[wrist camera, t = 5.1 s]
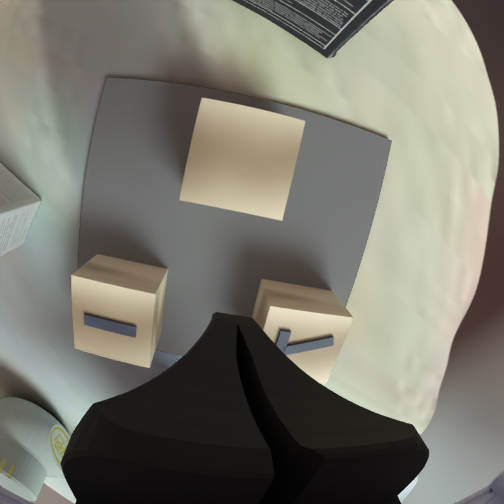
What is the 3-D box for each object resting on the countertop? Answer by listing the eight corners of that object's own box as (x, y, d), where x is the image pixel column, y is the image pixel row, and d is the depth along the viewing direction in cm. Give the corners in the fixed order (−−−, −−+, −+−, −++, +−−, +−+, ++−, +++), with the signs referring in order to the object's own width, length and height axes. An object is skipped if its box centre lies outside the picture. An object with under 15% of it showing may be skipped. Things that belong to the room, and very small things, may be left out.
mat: (318, 369, 23) (320, 372, 22) (81, 328, 20) (79, 330, 20) (388, 141, 18) (391, 140, 18) (108, 79, 15) (106, 77, 15)
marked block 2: (310, 350, 22) (326, 386, 18) (245, 342, 21) (249, 380, 17) (331, 290, 20) (354, 319, 16) (261, 278, 20) (270, 307, 16)
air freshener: (84, 458, 25) (64, 522, 15) (30, 440, 24) (4, 495, 15) (57, 395, 22) (17, 470, 12) (-2, 376, 21) (-46, 435, 12)
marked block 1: (160, 334, 20) (148, 370, 16) (95, 318, 20) (73, 350, 16) (168, 268, 19) (154, 295, 15) (97, 253, 18) (69, 276, 14)
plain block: (270, 208, 18) (281, 220, 15) (189, 192, 18) (179, 200, 14) (288, 129, 17) (305, 120, 13) (206, 111, 16) (201, 97, 13)
